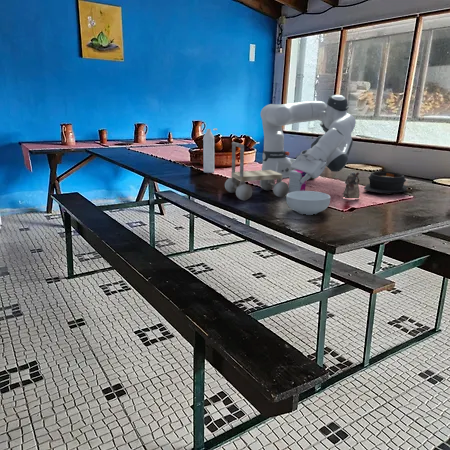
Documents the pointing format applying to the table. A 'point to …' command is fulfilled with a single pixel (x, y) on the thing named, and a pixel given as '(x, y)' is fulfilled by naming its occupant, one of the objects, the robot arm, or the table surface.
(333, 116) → the robot arm
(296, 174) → the supplement box
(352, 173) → the figurine
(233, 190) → the trolley
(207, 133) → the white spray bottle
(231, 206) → the table surface
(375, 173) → the casserole
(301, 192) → the cereal bowl
